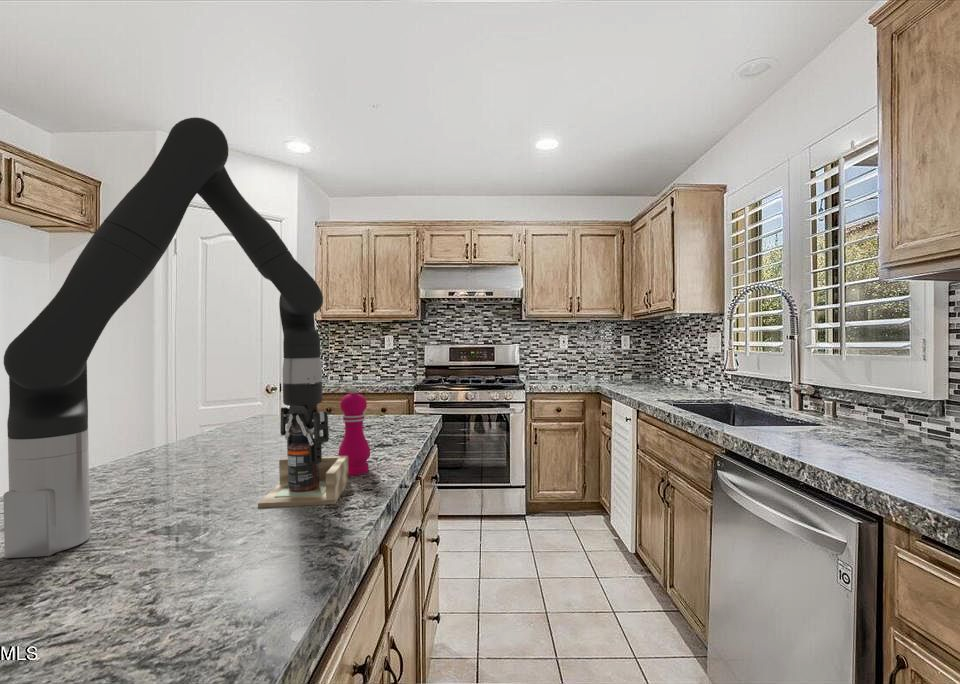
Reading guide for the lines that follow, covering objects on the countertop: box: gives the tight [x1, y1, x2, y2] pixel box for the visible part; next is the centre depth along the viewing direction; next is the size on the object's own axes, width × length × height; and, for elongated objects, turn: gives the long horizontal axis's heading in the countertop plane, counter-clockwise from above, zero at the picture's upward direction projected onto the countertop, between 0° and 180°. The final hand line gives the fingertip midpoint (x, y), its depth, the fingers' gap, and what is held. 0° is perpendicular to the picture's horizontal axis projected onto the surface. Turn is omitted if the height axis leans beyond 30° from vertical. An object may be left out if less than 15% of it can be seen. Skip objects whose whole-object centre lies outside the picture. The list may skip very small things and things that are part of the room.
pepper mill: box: [337, 386, 371, 477], centre depth 113 cm, size 7×7×20 cm
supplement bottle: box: [286, 431, 319, 492], centre depth 98 cm, size 6×6×11 cm
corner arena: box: [257, 455, 350, 509], centre depth 97 cm, size 14×14×6 cm
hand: (304, 460), depth 97 cm, fingers open, 8 cm apart
